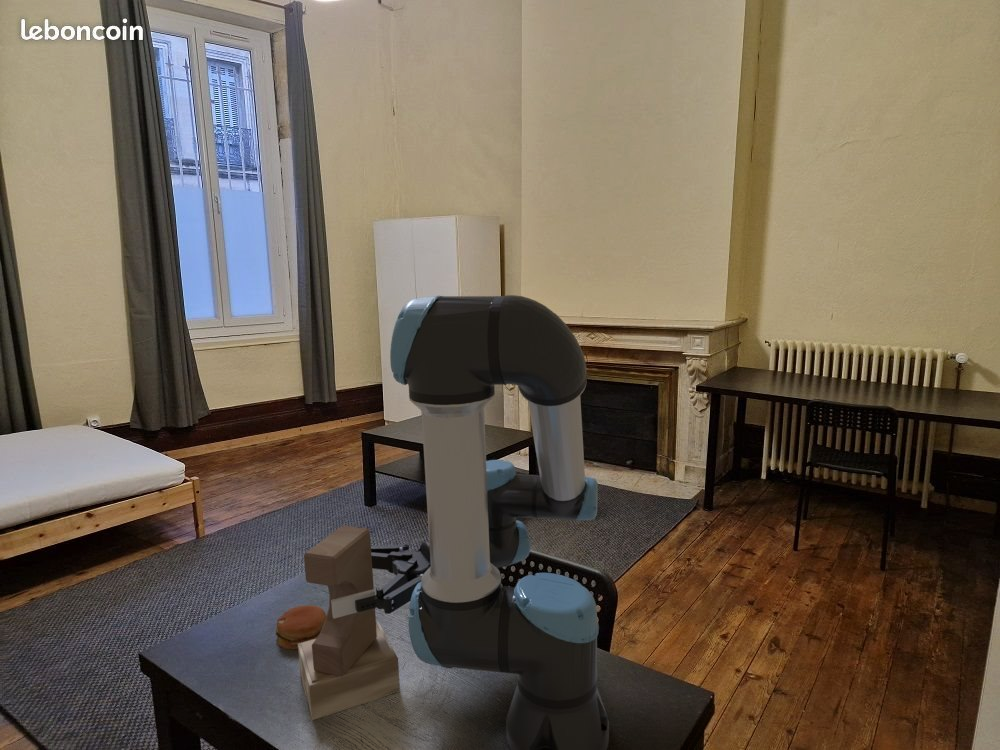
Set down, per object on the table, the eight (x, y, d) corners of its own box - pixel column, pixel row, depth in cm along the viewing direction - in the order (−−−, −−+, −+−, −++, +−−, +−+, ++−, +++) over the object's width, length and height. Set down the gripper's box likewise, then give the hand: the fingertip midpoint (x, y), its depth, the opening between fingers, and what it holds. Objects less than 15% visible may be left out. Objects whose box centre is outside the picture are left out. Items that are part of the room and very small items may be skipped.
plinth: (399, 691, 101) (397, 656, 100) (312, 720, 95) (309, 683, 94) (380, 651, 111) (378, 619, 110) (300, 675, 105) (297, 642, 104)
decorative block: (342, 679, 95) (332, 558, 91) (311, 671, 97) (300, 553, 93) (379, 637, 105) (371, 528, 101) (350, 632, 107) (342, 524, 103)
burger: (338, 635, 117) (336, 613, 116) (291, 658, 110) (289, 634, 110) (312, 616, 124) (310, 594, 123) (268, 636, 117) (265, 614, 117)
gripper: (476, 612, 98) (342, 652, 88) (423, 550, 120) (311, 576, 110) (475, 568, 96) (338, 604, 87) (421, 513, 118) (308, 537, 109)
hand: (323, 589), depth 99 cm, fingers open, 13 cm apart
